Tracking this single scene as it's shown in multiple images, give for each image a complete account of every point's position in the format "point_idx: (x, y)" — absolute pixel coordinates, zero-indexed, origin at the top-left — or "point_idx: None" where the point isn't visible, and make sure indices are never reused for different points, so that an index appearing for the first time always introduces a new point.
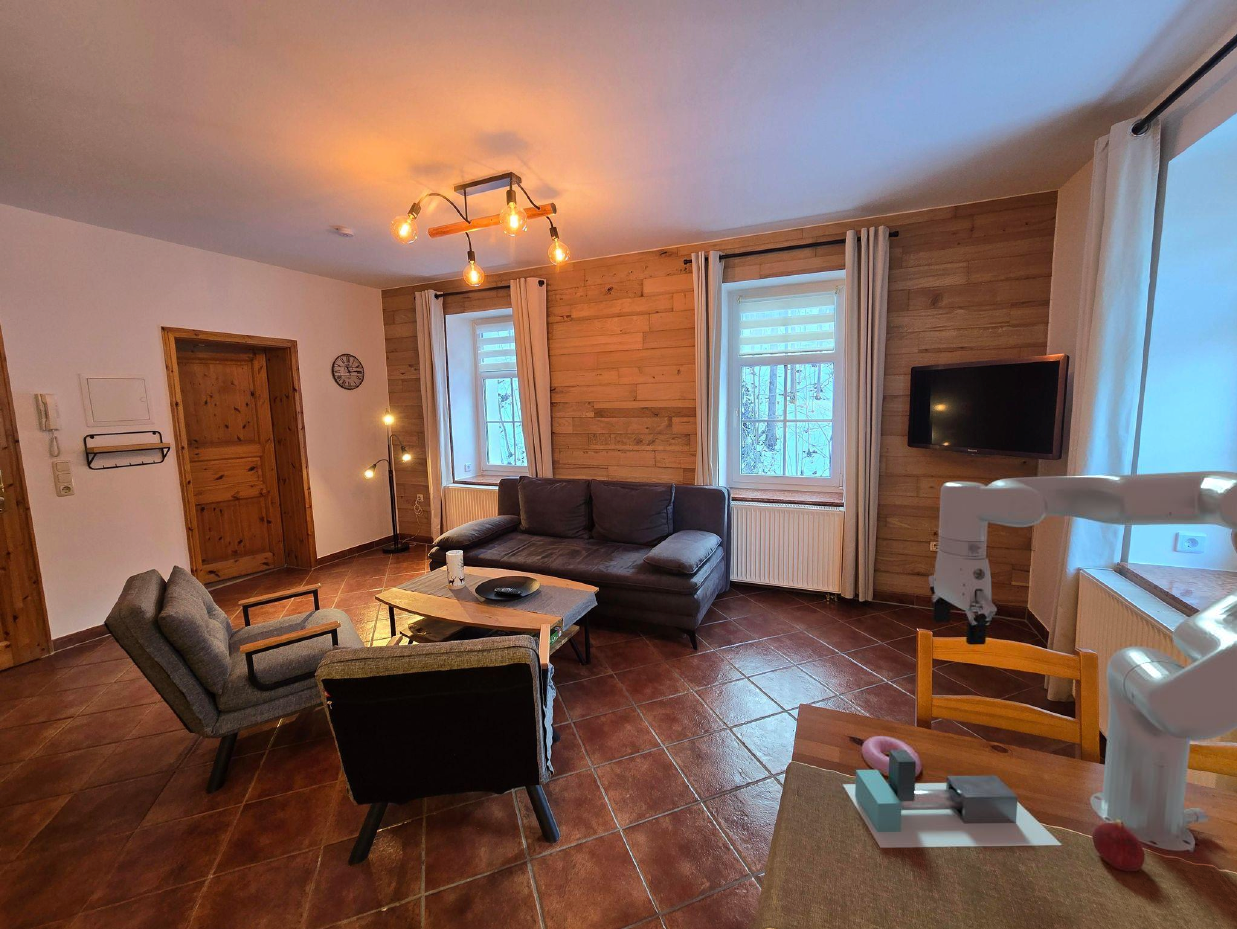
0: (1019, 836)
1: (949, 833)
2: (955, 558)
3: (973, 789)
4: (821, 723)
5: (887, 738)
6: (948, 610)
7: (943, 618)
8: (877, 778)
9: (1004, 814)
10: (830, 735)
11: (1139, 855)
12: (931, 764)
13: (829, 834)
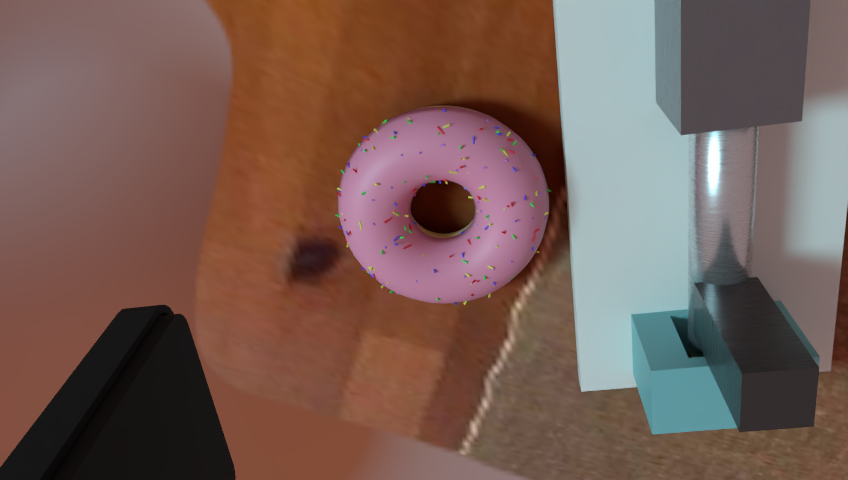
0: None
1: (800, 161)
2: None
3: (761, 65)
4: (228, 349)
5: (373, 213)
6: (115, 465)
7: (190, 427)
8: (697, 385)
9: None
10: (297, 339)
11: None
12: (417, 34)
13: (746, 453)
